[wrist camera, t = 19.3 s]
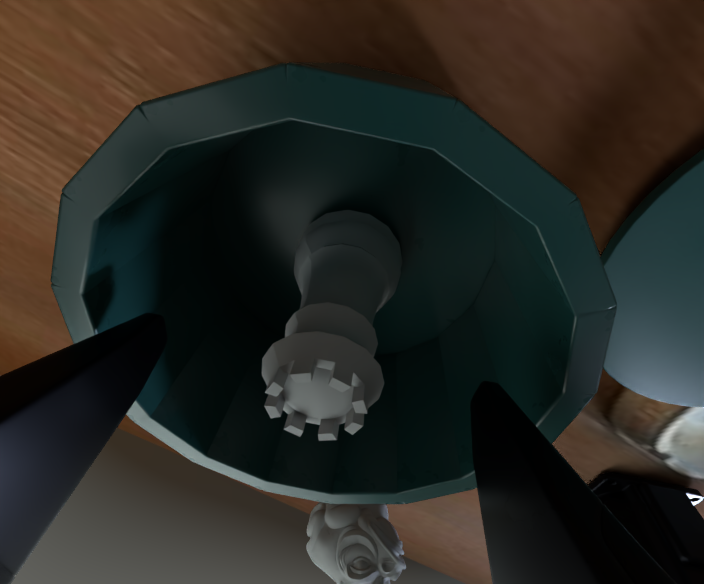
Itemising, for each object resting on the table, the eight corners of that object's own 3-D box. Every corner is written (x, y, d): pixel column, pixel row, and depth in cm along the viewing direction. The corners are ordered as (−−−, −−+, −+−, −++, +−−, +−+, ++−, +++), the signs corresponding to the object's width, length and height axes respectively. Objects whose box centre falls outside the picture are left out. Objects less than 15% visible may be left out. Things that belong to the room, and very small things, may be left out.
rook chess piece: (279, 253, 15) (190, 400, 9) (348, 181, 13) (302, 302, 6) (351, 313, 17) (323, 479, 10) (424, 257, 15) (449, 419, 8)
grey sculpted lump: (418, 492, 26) (425, 614, 20) (339, 505, 29) (325, 618, 23) (382, 449, 23) (379, 574, 18) (299, 467, 26) (271, 583, 20)
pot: (581, 113, 12) (799, 171, 5) (448, 380, 19) (474, 532, 13) (183, 27, 11) (-70, -14, 5) (209, 332, 19) (119, 462, 13)
